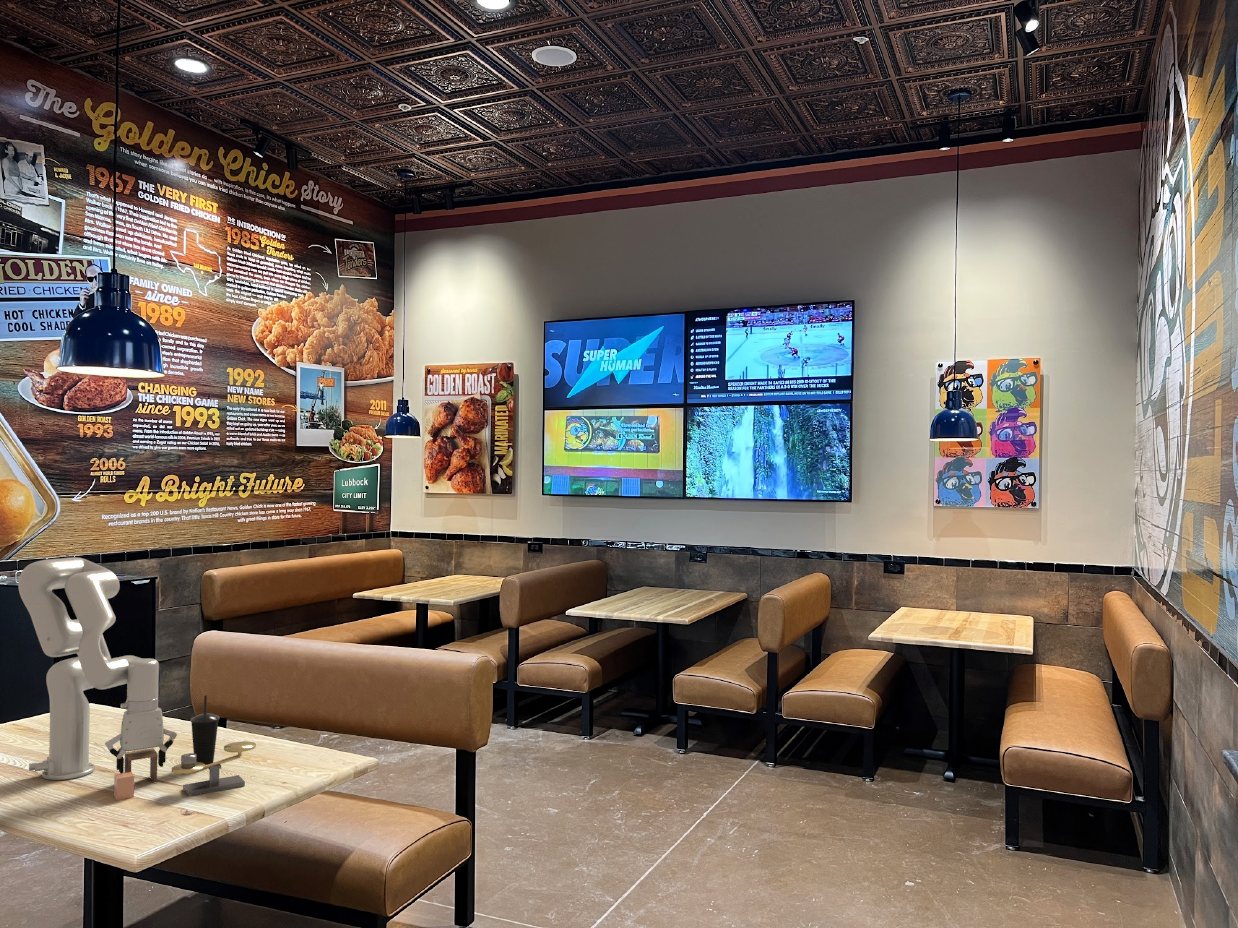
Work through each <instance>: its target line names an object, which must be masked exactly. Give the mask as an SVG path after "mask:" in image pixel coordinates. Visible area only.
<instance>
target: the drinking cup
mask: <svg viewBox="0 0 1238 928" xmlns="http://www.w3.org/2000/svg"><path fill="white" fill-rule="evenodd" d="M203 697H204V699H203V712H202V713H200V714H197V715H195V716H193V717H191V718H190V723H191V736H192V748H193V753H194V754H196V762H200V763H204V764H205V765H208V764H211V763H214V762H215V761H214V760H215V751H216V743H217V733H218V727H219V726H218V724H219V720H220V716H219V715H218V714H214V713H212V712H211V713H210V712H209V713H208V712H207V709H208V708H207V706H208V705H207V704H208V703H207V701H208V696H207V695H204V696H203Z"/></svg>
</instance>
